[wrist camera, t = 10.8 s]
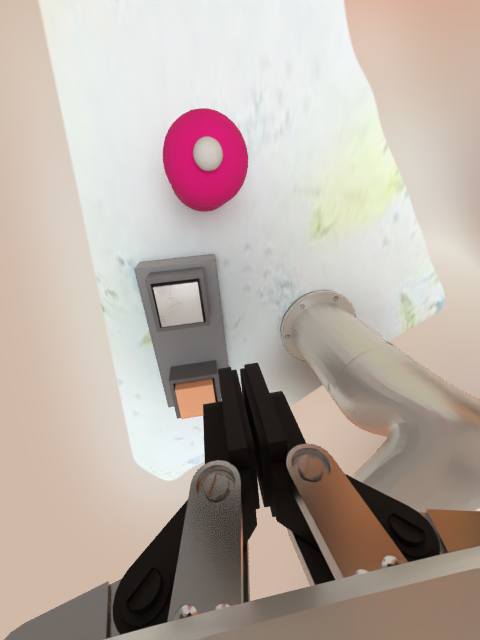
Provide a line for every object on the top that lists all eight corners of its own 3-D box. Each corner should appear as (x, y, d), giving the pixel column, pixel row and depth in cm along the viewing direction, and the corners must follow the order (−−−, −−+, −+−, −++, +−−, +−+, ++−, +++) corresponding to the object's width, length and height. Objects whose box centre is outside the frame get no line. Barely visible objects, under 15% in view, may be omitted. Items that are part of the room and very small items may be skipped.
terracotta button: (215, 398, 40) (216, 413, 38) (182, 404, 40) (181, 419, 37) (211, 371, 38) (212, 384, 36) (176, 377, 38) (174, 390, 35)
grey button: (202, 312, 35) (203, 321, 33) (164, 317, 35) (161, 327, 32) (197, 275, 33) (197, 282, 30) (156, 280, 33) (152, 287, 30)
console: (228, 381, 46) (234, 412, 40) (170, 390, 45) (166, 424, 39) (213, 254, 37) (217, 265, 30) (140, 262, 36) (127, 275, 29)
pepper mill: (192, 220, 35) (187, 240, 17) (160, 164, 32) (114, 114, 14) (240, 193, 35) (288, 183, 17) (212, 133, 32) (235, 40, 14)
